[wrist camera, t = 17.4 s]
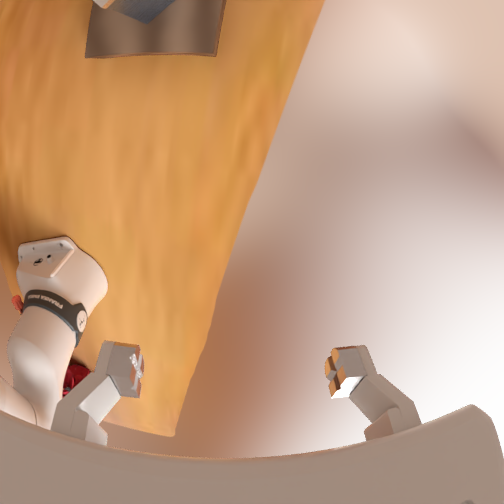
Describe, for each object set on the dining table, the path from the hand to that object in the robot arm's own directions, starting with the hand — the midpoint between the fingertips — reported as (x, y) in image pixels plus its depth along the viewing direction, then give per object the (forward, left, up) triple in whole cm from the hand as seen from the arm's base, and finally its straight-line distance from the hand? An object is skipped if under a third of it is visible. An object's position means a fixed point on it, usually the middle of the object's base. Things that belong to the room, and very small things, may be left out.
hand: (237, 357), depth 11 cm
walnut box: (-12, +20, -33) cm, 40 cm away
